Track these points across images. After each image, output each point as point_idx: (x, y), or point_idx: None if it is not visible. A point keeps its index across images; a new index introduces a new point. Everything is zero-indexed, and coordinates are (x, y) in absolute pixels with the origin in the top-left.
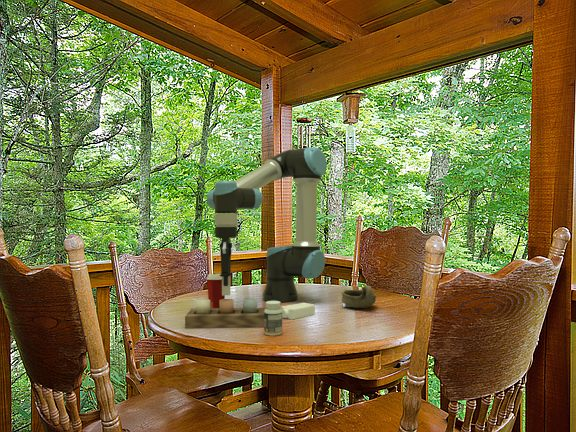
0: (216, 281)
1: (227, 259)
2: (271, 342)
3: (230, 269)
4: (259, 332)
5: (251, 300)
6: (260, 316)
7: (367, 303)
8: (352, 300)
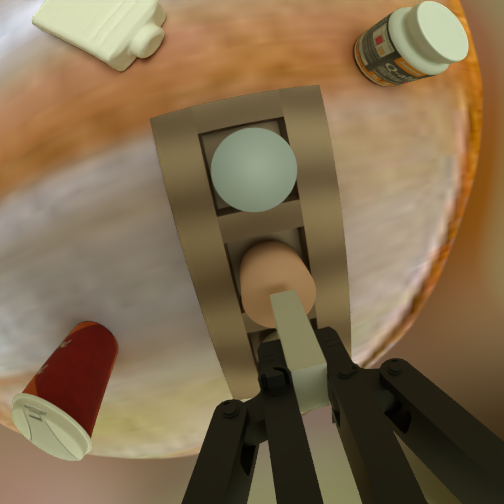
0: (79, 419)
1: (498, 442)
2: (452, 69)
3: (222, 422)
4: (373, 103)
5: (273, 155)
6: (321, 101)
7: None
8: None
